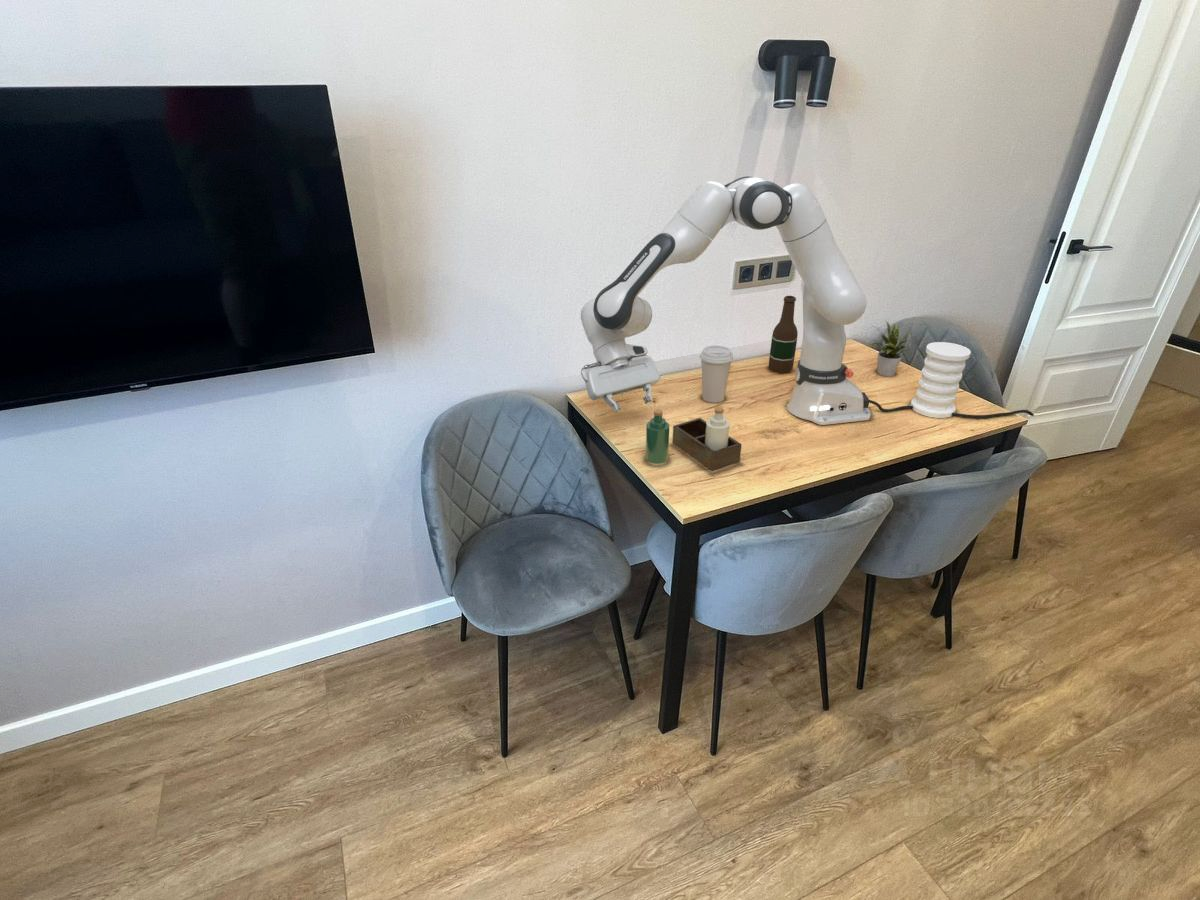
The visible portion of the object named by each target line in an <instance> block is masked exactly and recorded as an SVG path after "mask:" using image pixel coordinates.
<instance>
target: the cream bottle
mask: <svg viewBox="0 0 1200 900" xmlns="http://www.w3.org/2000/svg"><path fill="white" fill-rule="evenodd" d="M724 410H725V408H723V407H722V406H715V407H714V415H712V416H711V417H709V418H708V419H707V420H706V432H705V445H706V446H707V447H709V448H710V449H712V450H713V451H716V450H719V449H722V448H725V447H728V438H729V436H730V427H731V423H730V421H729V420H728V419H727V417H726V416H724Z"/></svg>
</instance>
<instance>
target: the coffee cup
mask: <svg viewBox="0 0 1200 900" xmlns="http://www.w3.org/2000/svg"><path fill="white" fill-rule="evenodd" d="M699 359H700V360H701V361H700V363H701V394H702V395H701V397H702V400H703V401H705V402H707V403H715V404H716V403H721V402H723V401H724V400H725V397H726V391H727V385H728V382H729V381H728V380H729V375H730V370H731V365H732V361H733V360H734V355H733V353H732V350H731V348H730V347H727V346H724V345H708V346H705V347H704V348H703V349H702V351H701V352H700V354H699Z"/></svg>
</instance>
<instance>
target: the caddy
mask: <svg viewBox="0 0 1200 900" xmlns="http://www.w3.org/2000/svg"><path fill="white" fill-rule="evenodd" d="M706 422H707V420H705V419H703V418H701V417H698V418H694V419H691V420H688V421H685V422H681V423H677V424H675V425H673V427H672V444H673V445H674V446H675V447H677V448H679V450H682V452H684V453H686V454H687V455H689V456H690V457H691V458H693V459H694V460H696V461H697V462H698V463H700V464H701V465H702V466H704V467H705V468H707V469H708V470H709V471H711V472H715V471H718V470H721V469H724V468H726V467H730V466H732V465H735V464H738V463H740V462H741V453H742V445H743V444H742V443H740V441H738V440H736V439H735V438H733V437H731V436H730V435H729V438H728V447H725V448H722V449H719V450H716V451H713V450H712V449H710V448H709V447H707V446H706V445H705V432H706Z"/></svg>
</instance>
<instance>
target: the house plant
mask: <svg viewBox="0 0 1200 900" xmlns="http://www.w3.org/2000/svg"><path fill="white" fill-rule="evenodd" d="M885 323H886V326H887V327H886V328H887V336H888V337H886V335H884V334H883V333H882V331H880V329H878V327H877V326H874V325H872V327H873V328H875V330H876V331H879V334H880V337H881V338H882V341H883V342H884V344H882V343H880V342H877V341H876V340H874V339H872V338H870V340H871V341H873V343H871V346H876V345H877V346H878V347H879V348H880V351H879V352H878V353H877V368H876V369H877V370H876V372H877V374H878V375H880V376H884V377H893V376H895V374H896V372H897V369H898V367H899V365H900V363H901V361H902V358H903V355H902V354H901V353H903V352H905V351H906V352H907V351H909V352H911V349H907V347H906V346H904V345H903V344H905V343H906V342H908V340H906V339H907V337H908V336H909V335H910V334H911V333H912V330H911V331H910V332H908V334H906V335H905V336H904V337H903V338H902V339H901V340H900V341H899V335H900V327H899V326H898V325H897V324H896V323H894V324H893V325H892V327H891V325H890V323H889V322H888V321H887V320H885ZM891 328H892V329H891ZM915 336H916V337H917V336H918V334H914V335H910V336H909V337H908V339H910V338H911V337H915ZM898 341H899V343H898ZM903 349H904V350H903Z"/></svg>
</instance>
